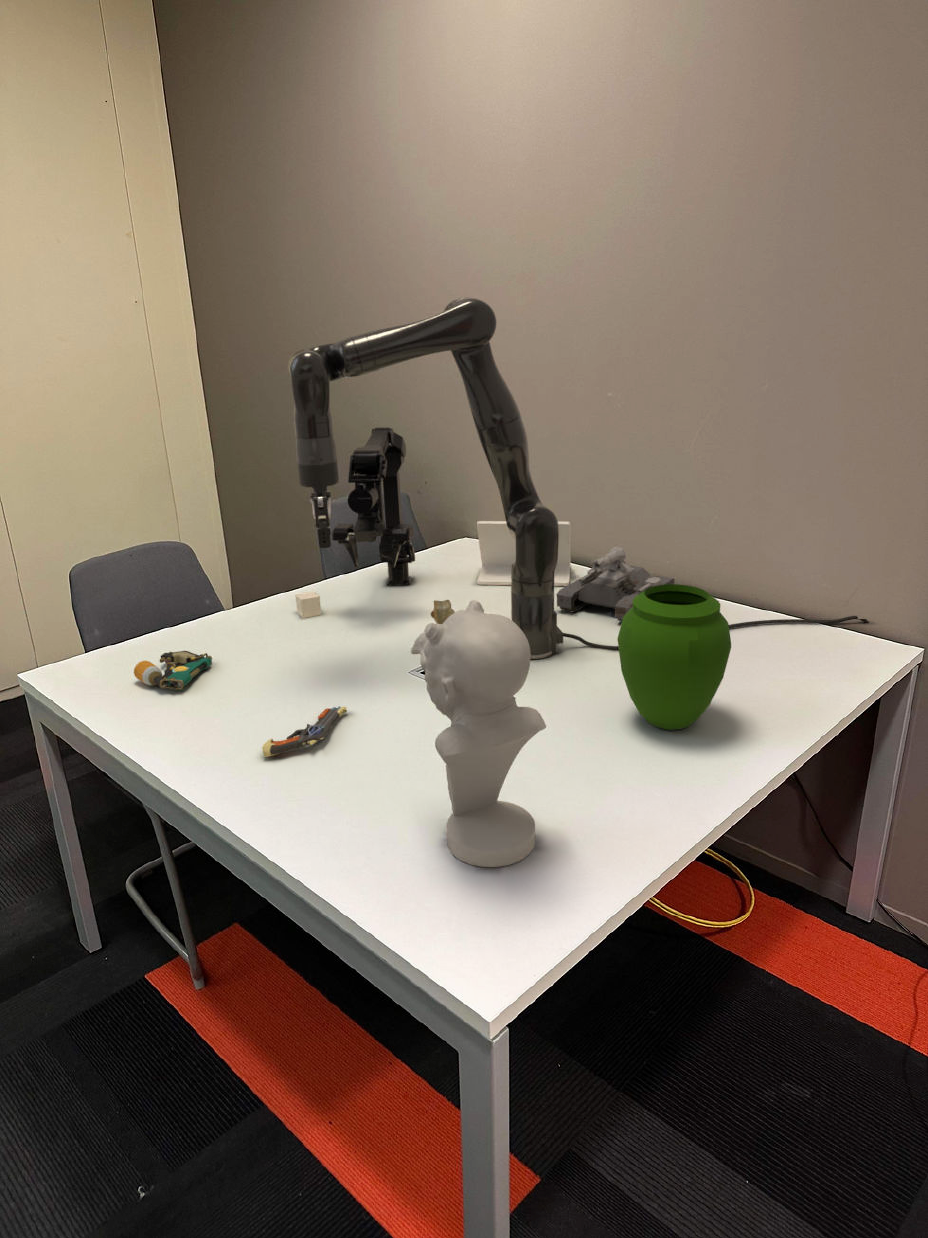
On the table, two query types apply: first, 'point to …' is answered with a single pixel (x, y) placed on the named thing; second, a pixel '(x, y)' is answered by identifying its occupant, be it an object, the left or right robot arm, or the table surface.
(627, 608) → the toy
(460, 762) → the bust sculpture
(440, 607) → the sculpture
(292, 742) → the toy gun
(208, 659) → the spray gun
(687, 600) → the vase
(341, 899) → the table surface
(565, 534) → the tablet stand
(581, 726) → the table surface
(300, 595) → the beige wooden cube
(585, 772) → the table surface
